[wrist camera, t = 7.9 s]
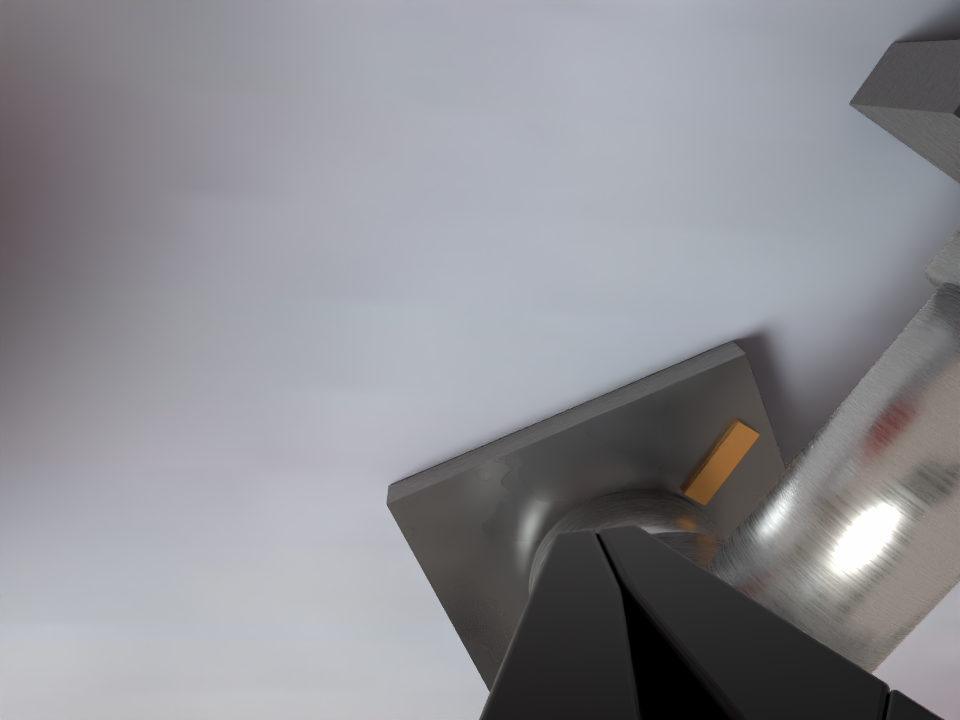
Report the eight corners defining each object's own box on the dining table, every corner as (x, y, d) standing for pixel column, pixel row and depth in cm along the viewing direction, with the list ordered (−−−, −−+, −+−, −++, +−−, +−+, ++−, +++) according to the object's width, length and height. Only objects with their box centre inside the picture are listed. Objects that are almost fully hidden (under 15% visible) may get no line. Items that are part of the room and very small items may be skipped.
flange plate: (831, 625, 25) (902, 724, 21) (528, 742, 26) (544, 858, 22) (732, 340, 22) (795, 399, 18) (388, 486, 23) (379, 570, 19)
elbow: (684, 812, 22) (743, 990, 17) (452, 700, 20) (457, 866, 16) (1116, 347, 18) (1325, 432, 14) (873, 160, 16) (1026, 193, 12)
